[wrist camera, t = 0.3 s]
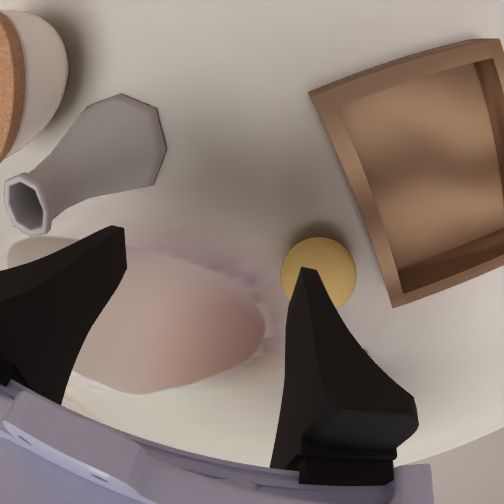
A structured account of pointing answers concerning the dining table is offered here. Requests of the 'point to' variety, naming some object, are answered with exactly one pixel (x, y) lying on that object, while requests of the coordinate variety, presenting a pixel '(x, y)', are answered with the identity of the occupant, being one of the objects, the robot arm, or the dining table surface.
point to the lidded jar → (28, 78)
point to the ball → (321, 267)
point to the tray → (425, 162)
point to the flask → (89, 163)
